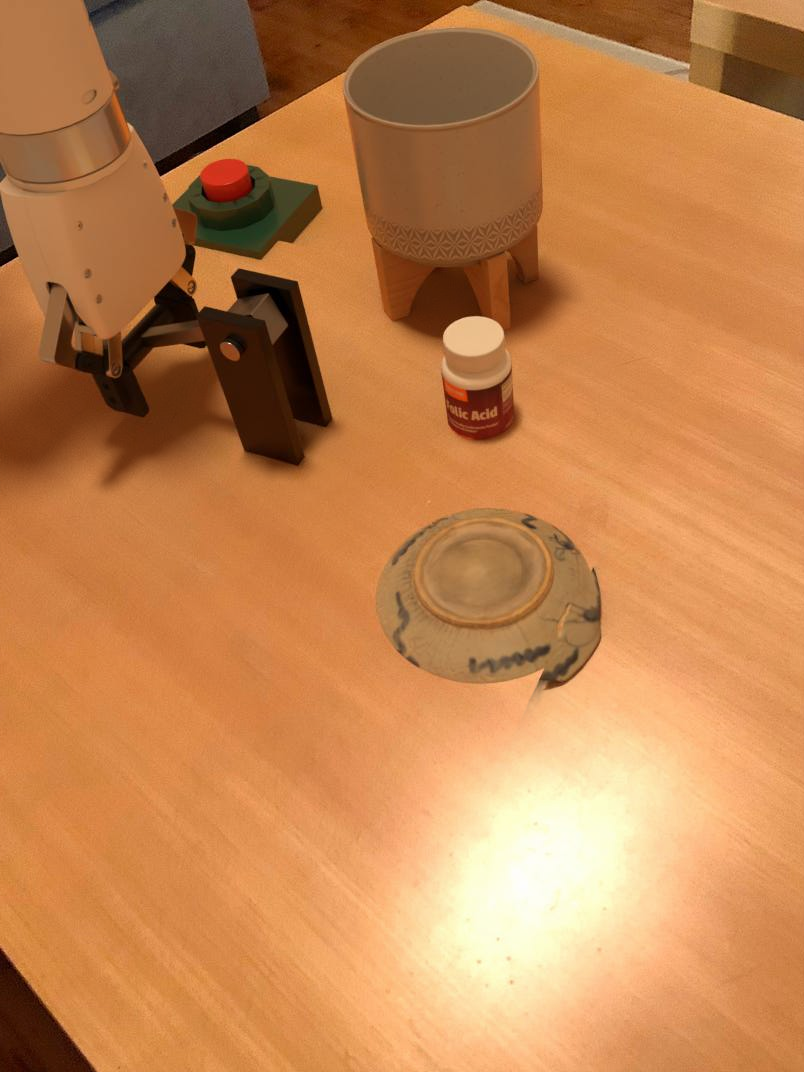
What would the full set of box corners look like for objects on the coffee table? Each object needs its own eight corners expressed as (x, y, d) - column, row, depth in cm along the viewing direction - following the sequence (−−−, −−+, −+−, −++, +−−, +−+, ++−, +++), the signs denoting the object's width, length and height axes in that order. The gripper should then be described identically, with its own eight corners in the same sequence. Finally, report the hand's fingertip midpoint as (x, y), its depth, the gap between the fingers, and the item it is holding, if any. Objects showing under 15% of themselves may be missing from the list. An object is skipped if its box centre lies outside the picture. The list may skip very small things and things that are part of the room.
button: (196, 200, 88) (190, 180, 86) (222, 174, 90) (216, 155, 88) (237, 208, 87) (231, 188, 85) (261, 182, 89) (256, 162, 87)
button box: (156, 250, 90) (141, 208, 87) (218, 187, 95) (205, 145, 92) (265, 274, 87) (253, 231, 84) (322, 208, 92) (313, 165, 89)
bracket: (189, 471, 74) (125, 322, 64) (254, 390, 79) (205, 239, 68) (336, 514, 71) (294, 364, 60) (395, 427, 75) (366, 273, 65)
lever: (121, 379, 72) (99, 350, 70) (166, 330, 74) (146, 301, 73) (258, 363, 64) (236, 330, 63) (301, 309, 67) (282, 277, 65)
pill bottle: (441, 450, 73) (428, 355, 67) (458, 404, 76) (446, 308, 69) (507, 458, 72) (500, 363, 66) (522, 412, 75) (517, 315, 68)
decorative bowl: (523, 750, 59) (652, 570, 66) (519, 717, 56) (654, 531, 63) (320, 640, 65) (457, 485, 71) (307, 605, 62) (451, 446, 68)
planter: (576, 316, 81) (576, 83, 66) (427, 377, 78) (394, 149, 63) (495, 234, 88) (480, 8, 73) (356, 288, 85) (311, 64, 70)
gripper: (97, 51, 65) (184, 293, 80) (-93, 205, 57) (44, 445, 71) (196, 67, 63) (267, 312, 78) (16, 229, 54) (134, 472, 69)
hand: (160, 374), depth 74 cm, fingers open, 6 cm apart
